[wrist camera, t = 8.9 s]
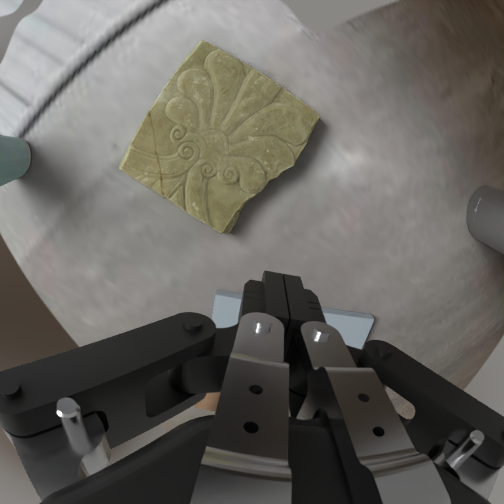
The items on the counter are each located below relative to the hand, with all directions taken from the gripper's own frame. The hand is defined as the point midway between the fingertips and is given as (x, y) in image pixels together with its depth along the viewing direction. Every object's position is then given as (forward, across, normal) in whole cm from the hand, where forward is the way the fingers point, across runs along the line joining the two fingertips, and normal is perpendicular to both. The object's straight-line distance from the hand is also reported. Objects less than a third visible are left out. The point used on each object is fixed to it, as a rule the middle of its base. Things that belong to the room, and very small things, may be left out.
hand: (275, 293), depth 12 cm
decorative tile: (+28, +7, -6) cm, 29 cm away
